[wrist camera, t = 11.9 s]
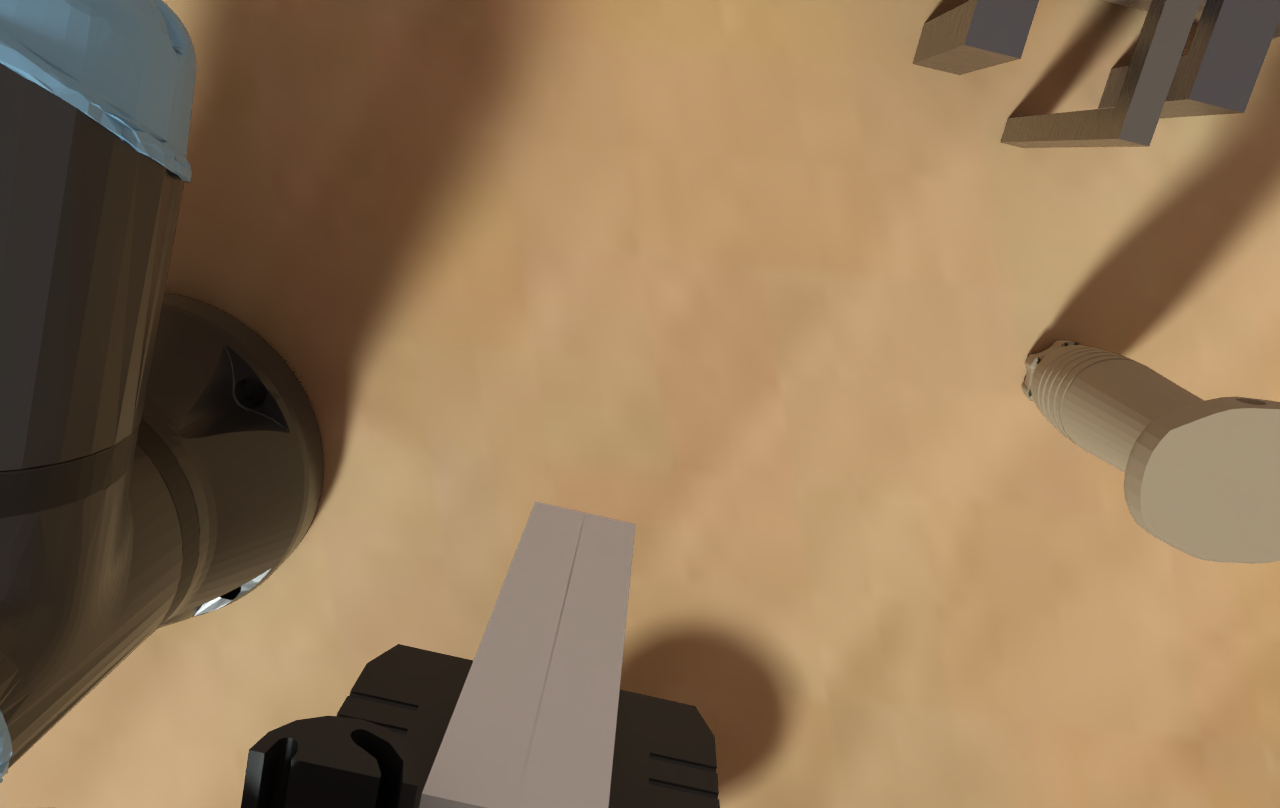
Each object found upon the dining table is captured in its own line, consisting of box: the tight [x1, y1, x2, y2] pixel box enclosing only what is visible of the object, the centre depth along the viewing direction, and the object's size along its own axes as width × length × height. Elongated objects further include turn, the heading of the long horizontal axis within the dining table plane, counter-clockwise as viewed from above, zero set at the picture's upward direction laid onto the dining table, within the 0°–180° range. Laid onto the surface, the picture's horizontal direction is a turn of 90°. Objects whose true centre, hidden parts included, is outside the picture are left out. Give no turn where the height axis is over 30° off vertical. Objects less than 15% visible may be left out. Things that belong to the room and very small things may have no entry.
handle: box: [1022, 340, 1280, 564], centre depth 36 cm, size 5×6×15 cm
